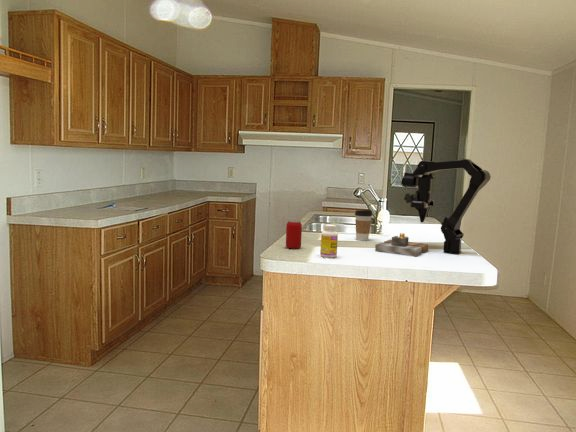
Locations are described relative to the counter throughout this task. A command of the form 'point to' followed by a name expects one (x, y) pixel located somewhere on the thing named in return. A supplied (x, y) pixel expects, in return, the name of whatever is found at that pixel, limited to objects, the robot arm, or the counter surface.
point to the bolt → (402, 235)
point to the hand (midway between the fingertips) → (422, 222)
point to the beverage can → (293, 234)
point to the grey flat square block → (401, 247)
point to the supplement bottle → (329, 241)
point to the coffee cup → (363, 224)
